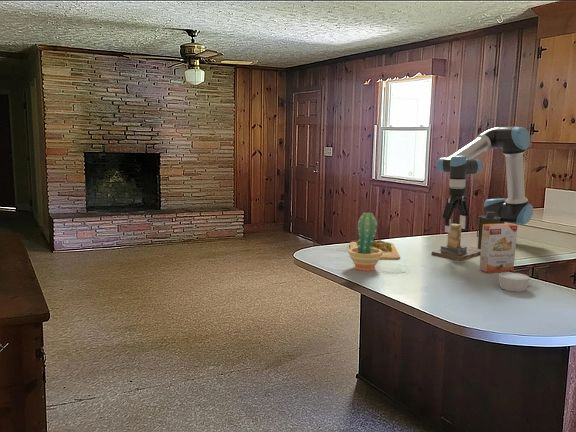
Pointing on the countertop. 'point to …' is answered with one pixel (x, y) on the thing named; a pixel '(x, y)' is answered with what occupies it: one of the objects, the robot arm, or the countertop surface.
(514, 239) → the cracker box
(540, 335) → the countertop surface
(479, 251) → the wick stand
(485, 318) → the countertop surface
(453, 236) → the oak peg
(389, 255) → the cutting board
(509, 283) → the ramekin
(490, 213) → the canister
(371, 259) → the potted cactus
